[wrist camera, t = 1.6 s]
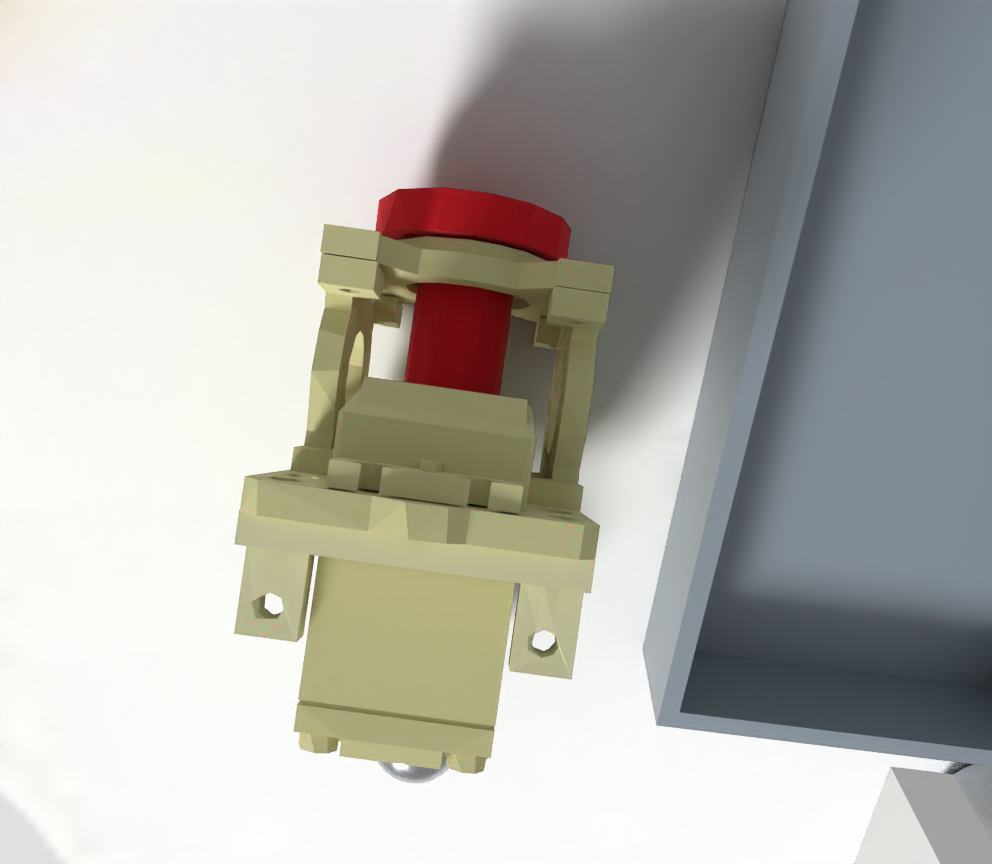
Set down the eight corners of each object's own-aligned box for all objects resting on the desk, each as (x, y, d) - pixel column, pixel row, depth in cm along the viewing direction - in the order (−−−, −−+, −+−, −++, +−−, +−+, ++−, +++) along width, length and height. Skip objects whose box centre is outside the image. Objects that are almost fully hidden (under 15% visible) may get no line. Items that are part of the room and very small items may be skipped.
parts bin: (827, -177, 25) (885, -224, 21) (1325, -112, 25) (1478, -144, 21) (642, 649, 36) (656, 725, 32) (987, 692, 37) (1045, 773, 32)
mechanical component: (582, 214, 36) (709, -67, 16) (524, 637, 36) (578, 879, 16) (394, 186, 36) (289, -130, 16) (334, 611, 36) (150, 822, 16)
